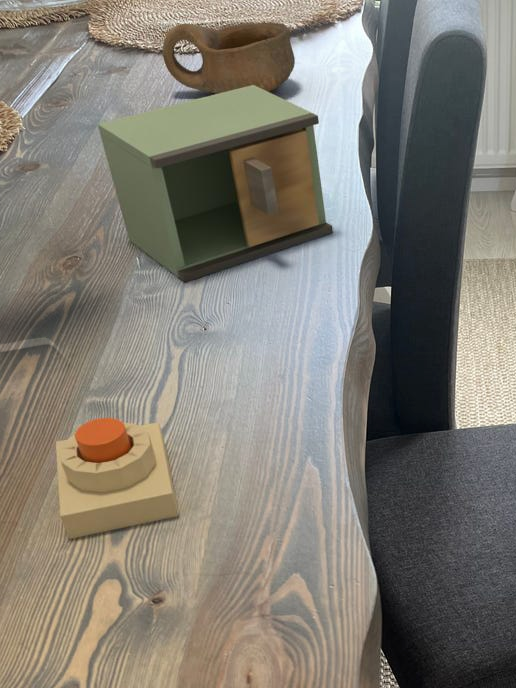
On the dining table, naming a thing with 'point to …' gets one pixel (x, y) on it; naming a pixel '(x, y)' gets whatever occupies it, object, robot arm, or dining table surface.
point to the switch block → (116, 485)
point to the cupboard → (200, 177)
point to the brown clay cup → (233, 56)
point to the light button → (102, 440)
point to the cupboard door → (274, 187)
